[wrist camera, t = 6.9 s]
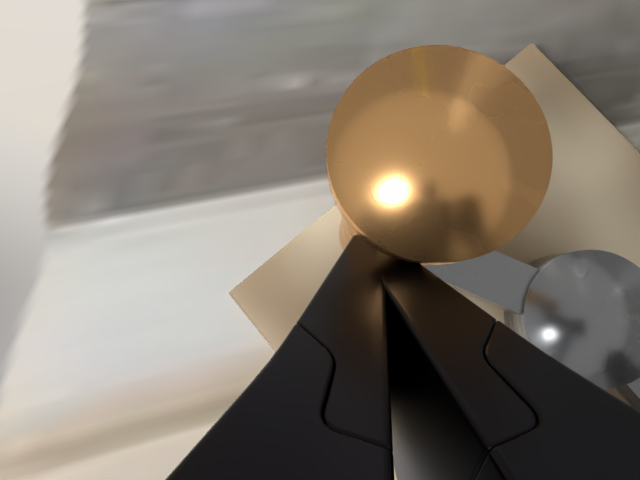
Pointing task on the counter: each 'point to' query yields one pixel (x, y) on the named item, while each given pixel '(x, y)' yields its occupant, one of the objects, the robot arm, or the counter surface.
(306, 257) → the wooden cutting board
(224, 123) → the counter surface
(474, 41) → the counter surface
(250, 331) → the counter surface
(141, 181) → the counter surface
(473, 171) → the capstan
